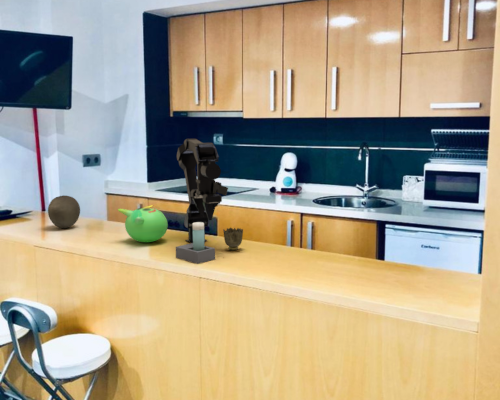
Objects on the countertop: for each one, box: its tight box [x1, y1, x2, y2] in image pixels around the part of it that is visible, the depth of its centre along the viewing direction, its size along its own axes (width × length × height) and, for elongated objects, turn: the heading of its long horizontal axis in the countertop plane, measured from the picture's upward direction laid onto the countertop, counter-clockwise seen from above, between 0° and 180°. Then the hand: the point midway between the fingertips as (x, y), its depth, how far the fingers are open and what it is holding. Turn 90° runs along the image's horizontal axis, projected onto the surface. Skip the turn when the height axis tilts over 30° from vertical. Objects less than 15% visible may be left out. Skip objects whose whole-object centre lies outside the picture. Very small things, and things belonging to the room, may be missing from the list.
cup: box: [222, 227, 244, 252], centre depth 200 cm, size 8×7×8 cm
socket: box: [175, 242, 216, 265], centre depth 189 cm, size 12×8×4 cm, turn 46°
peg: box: [192, 222, 206, 251], centre depth 187 cm, size 4×4×13 cm
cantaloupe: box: [47, 195, 81, 229], centre depth 242 cm, size 14×14×15 cm
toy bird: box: [117, 204, 169, 243], centre depth 215 cm, size 18×17×15 cm
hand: (206, 218), depth 200 cm, fingers open, 9 cm apart
